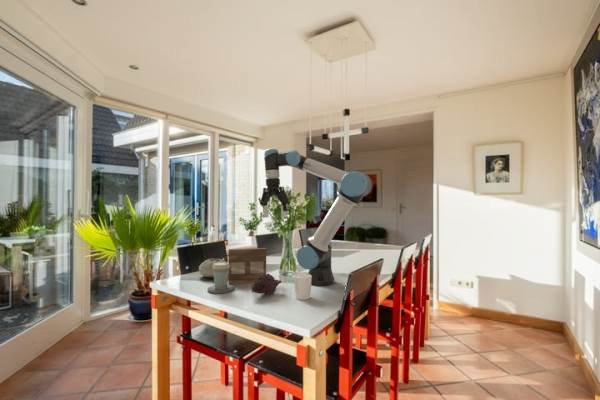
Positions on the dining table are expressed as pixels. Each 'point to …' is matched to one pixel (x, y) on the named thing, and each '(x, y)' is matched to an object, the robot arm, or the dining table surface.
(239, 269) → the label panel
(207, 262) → the beige rounded lump
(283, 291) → the dining table surface
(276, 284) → the pine cone
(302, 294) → the white cup
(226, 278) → the coffee cup
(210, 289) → the rubber mat
